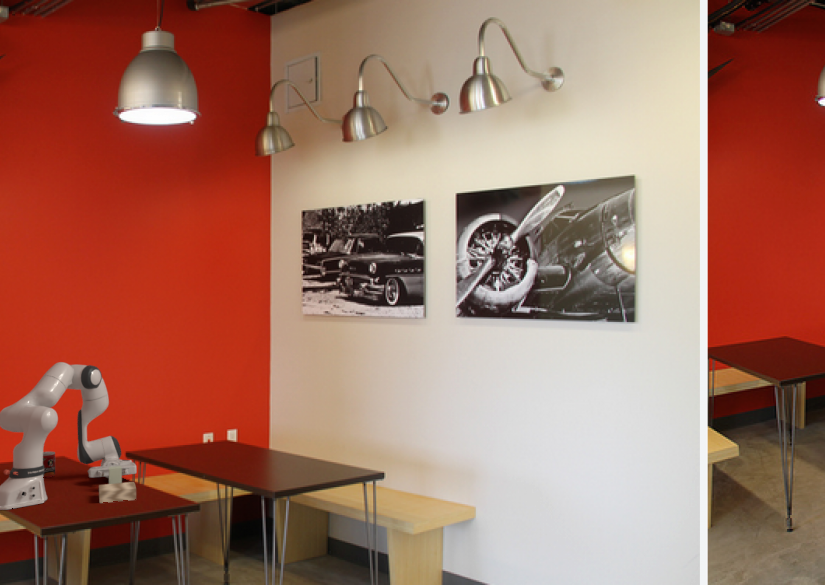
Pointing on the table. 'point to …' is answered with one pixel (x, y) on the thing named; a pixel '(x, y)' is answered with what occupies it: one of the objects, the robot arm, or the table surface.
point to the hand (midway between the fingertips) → (113, 473)
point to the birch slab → (117, 492)
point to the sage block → (115, 474)
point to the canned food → (49, 464)
